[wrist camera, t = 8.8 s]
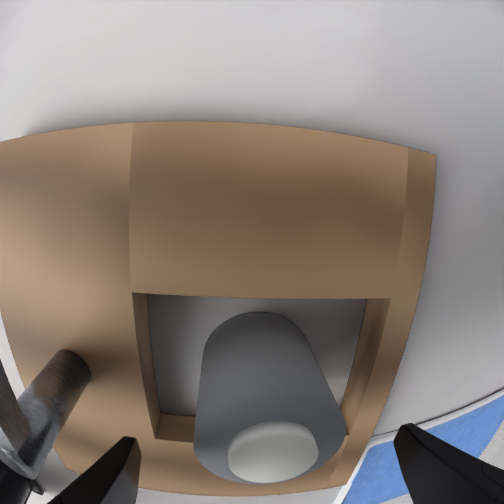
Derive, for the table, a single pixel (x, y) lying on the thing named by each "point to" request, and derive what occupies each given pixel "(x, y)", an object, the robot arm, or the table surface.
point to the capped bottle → (264, 403)
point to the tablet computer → (446, 428)
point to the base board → (203, 265)
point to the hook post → (39, 411)
